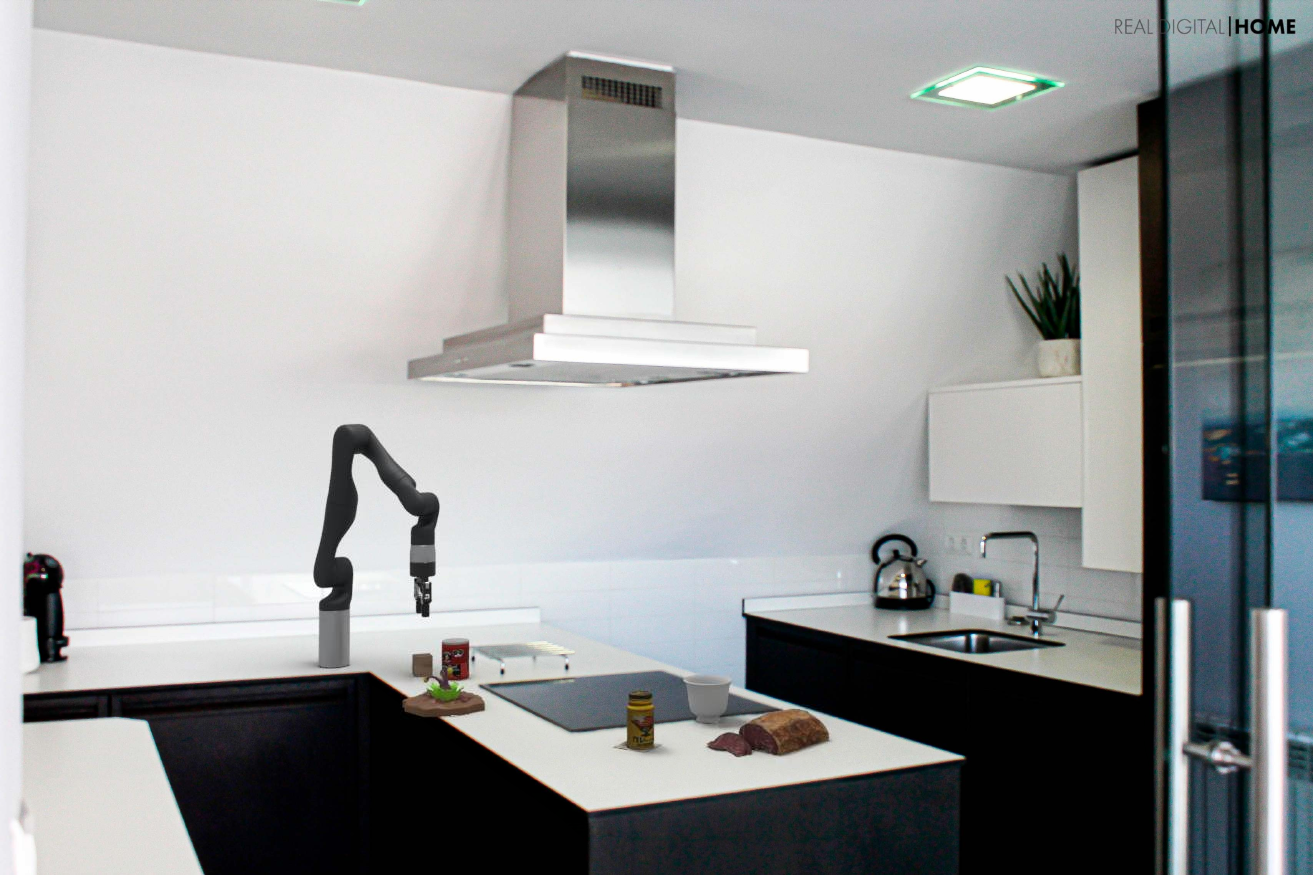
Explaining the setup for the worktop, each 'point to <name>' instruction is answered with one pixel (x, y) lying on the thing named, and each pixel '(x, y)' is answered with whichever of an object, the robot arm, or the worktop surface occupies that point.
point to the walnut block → (422, 665)
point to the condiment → (640, 722)
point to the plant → (443, 699)
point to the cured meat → (774, 733)
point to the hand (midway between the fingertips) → (422, 615)
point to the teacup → (708, 696)
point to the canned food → (456, 657)
